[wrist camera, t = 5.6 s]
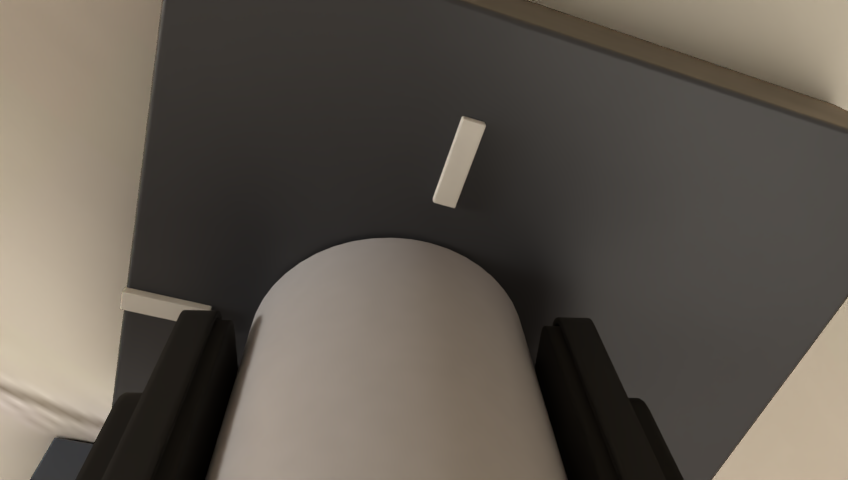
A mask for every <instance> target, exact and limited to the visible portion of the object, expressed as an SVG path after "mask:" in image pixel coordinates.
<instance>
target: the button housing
mask: <svg viewBox="0 0 848 480" xmlns="http://www.w3.org/2000/svg"><path fill="white" fill-rule="evenodd" d="M92 446H93V444H90V443H85V442H79V441H73V440H68V439H62V438H54V440H53V442H52V443H51V445H50V447H49V448H48V450H47V452H46V453H45V455H44V457H43V458H42V460H41V462H40V464H39V465H38V467H37V469H36V470H35V472H34V474H33V475H32V477H31V479H30V480H75V479H76V477H77V475H78V473H79V471H80V469H81V468H82V466H83V464H84V462H85V460H86V458H87V456H88V454H89V452H90V450H91V448H92Z"/></svg>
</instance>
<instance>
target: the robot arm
mask: <svg viewBox="0 0 848 480" xmlns="http://www.w3.org/2000/svg"><path fill="white" fill-rule="evenodd" d="M237 372H238V359H237V349H236V339H235V329H234V323H233V321H232V320H222V315H221V313H220V311H216V310H183V311H182V312H181V313H180V315H179V317H178V319H177V321H176V323H175V325H174V328H173V330H172V332H171V334H170V336H169V338H168V340H167V342H166V344H165V347H164V349H163V351H162V353H161V355H160V357H159V359H158V361H157V363H156V366H155V368H154V370H153V372H152V374H151V376H150V378H149V380H148V382H147V385H146V387H145V389H144V391H143V393H128V392H125V393H123V394H122V395H120V396H119V398H118V399H117V401H116V402H115V404H114V406H113V408H112V410H111V411H110V413H109V415H108V417H107V419H106V421H105V423H104V425H103V427H102V429H101V431H100V433H99V435H98V437H97V439H96V440H95V442H94V444H93V446H92V448H91V450H90V452H89V454H88V456H87V458H86V460H85V462H84V464H83V466H82V468H81V469H80V471H79V473H78V475H77V477H76V479H75V480H205V478H206V475H207V471H208V468H209V465H210V461H211V458H212V455H213V451H214V448H215V445H216V441H217V438H218V435H219V431H220V428H221V425H222V421H223V418H224V415H225V412H226V408H227V405H228V402H229V398H230V395H231V392H232V388H233V385H234V382H235V378H236V375H237ZM535 372H536V375H537V379H538V382H539V385H540V389H541V392H542V395H543V399H544V402H545V405H546V409H547V412H548V415H549V419H550V422H551V425H552V429H553V432H554V435H555V439H556V442H557V445H558V449H559V452H560V455H561V459H562V462H563V465H564V469H565V472H566V475H567V479H568V480H684V479H683V477H682V475H681V473H680V471H679V469H678V466H677V464H676V462H675V460H674V458H673V456H672V454H671V452H670V450H669V448H668V446H667V444H666V442H665V440H664V438H663V436H662V434H661V432H660V430H659V428H658V426H657V424H656V422H655V420H654V418H653V416H652V414H651V412H650V410H649V408H648V406H647V405H646V403H645V402H644V401H643V400H641V399H640V398H628V396H627V394H626V392H625V390H624V387H623V385H622V383H621V381H620V379H619V377H618V374H617V372H616V370H615V368H614V366H613V364H612V362H611V359H610V357H609V355H608V353H607V351H606V349H605V346H604V344H603V342H602V340H601V338H600V336H599V333H598V331H597V329H596V327H595V325H594V323H593V321H592V320H591V319H590V318H571V317H557V318H555V320H554V322H553V325H552V326H543V328H542V331H541V335H540V341H539V346H538V352H537V357H536V363H535Z"/></svg>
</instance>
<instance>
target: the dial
mask: <svg viewBox="0 0 848 480" xmlns="http://www.w3.org/2000/svg"><path fill="white" fill-rule="evenodd" d="M205 480H568V479H567V475H566V472H565V469H564V465H563V462H562V459H561V455H560V452H559V449H558V445H557V442H556V439H555V435H554V432H553V429H552V425H551V422H550V419H549V415H548V412H547V409H546V405H545V402H544V399H543V395H542V392H541V389H540V385H539V382H538V379H537V375H536V372H535V369H534V366H533V362H532V359H531V356H530V352H529V349H528V346H527V342H526V339H525V336H524V332H523V329H522V326H521V322H520V319H519V316H518V314H517V311H516V309H515V307H514V305H513V303H512V301H511V299H510V298H509V296H508V295H507V293H506V292H505V290H504V289H503V288H502V287H501V286H500V284H499V283H498V282H497V281H496V280H495V279H494V278H493V277H492V276H491V275H490V274H489V273H487V272H486V271H485V270H484V269H483V268H481V267H480V266H479V265H477V264H475V263H474V262H472V261H471V260H469V259H468V258H466V257H464V256H462V255H460V254H458V253H456V252H454V251H452V250H449V249H447V248H444V247H441V246H438V245H435V244H432V243H428V242H423V241H418V240H413V239H403V238H371V239H364V240H357V241H352V242H348V243H344V244H341V245H337V246H334V247H331V248H329V249H326V250H324V251H321V252H319V253H316V254H315V255H313V256H311V257H309V258H308V259H306V260H304V261H302V262H300V263H299V264H298V265H296V266H295V267H294V268H292V269H291V270H290V271H288V272H287V273H286V274H284V275H283V276H282V277H281V278H280V279H279V280H278V281H277V282H276V283H275V284H274V285H273V286H272V288H271V289H270V290H269V292H268V293H267V294H266V296H265V297H264V298H263V300H262V302H261V304H260V306H259V308H258V310H257V311H256V314H255V317H254V320H253V323H252V325H251V329H250V332H249V335H248V339H247V342H246V345H245V348H244V352H243V355H242V358H241V362H240V365H239V368H238V372H237V375H236V378H235V382H234V385H233V388H232V392H231V395H230V398H229V402H228V405H227V408H226V412H225V415H224V418H223V421H222V425H221V428H220V431H219V435H218V438H217V441H216V445H215V448H214V451H213V455H212V458H211V461H210V465H209V468H208V471H207V475H206V478H205Z"/></svg>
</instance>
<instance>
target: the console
mask: <svg viewBox="0 0 848 480" xmlns="http://www.w3.org/2000/svg"><path fill="white" fill-rule="evenodd" d="M371 238H403V239H413V240H418V241H423V242H428V243H432V244H435V245H438V246H441V247H444V248H447V249H449V250H452V251H454V252H456V253H458V254H460V255H462V256H464V257H466V258H468V259H469V260H471V261H472V262H474V263H475V264H477V265H479V266H480V267H481V268H483V269H484V270H485V271H486V272H487V273H489V274H490V275H491V276H492V277H493V278H494V279H495V280H496V281H497V282H498V283H499V284H500V286H501V287H502V288H503V289H504V290H505V292H506V293H507V295H508V296H509V298H510V299H511V301H512V303H513V305H514V307H515V309H516V311H517V314H518V316H519V319H520V322H521V326H522V329H523V332H524V336H525V339H526V342H527V346H528V349H529V352H530V356H531V359H532V362H533V366H534V369H535V363H536V357H537V352H538V346H539V341H540V335H541V331H542V328H543V326H552V325H553V322H554V320H555V318H557V317H571V318H590V319H591V320H592V321H593V323H594V325H595V327H596V329H597V331H598V333H599V336H600V338H601V340H602V342H603V344H604V346H605V349H606V351H607V353H608V355H609V357H610V359H611V362H612V364H613V366H614V368H615V370H616V372H617V374H618V377H619V379H620V381H621V383H622V385H623V387H624V390H625V392H626V394H627V396H628V398H640V399H641V400H643V401H644V402H645V403H646V405H647V406H648V408H649V410H650V412H651V414H652V416H653V418H654V420H655V422H656V424H657V426H658V428H659V430H660V432H661V434H662V436H663V438H664V440H665V442H666V444H667V446H668V448H669V450H670V452H671V454H672V456H673V458H674V460H675V462H676V464H677V466H678V469H679V471H680V473H681V475H682V477H683V479H684V480H712V479H713V477H714V476H715V475H716V473H717V472H718V471H719V469H720V468H721V467H722V465H723V464H724V463H725V461H726V460H727V459H728V457H729V456H730V454H731V453H732V452H733V450H734V449H735V448H736V446H737V445H738V444H739V442H740V441H741V440H742V438H743V437H744V436H745V434H746V433H747V432H748V430H749V429H750V428H751V426H752V425H753V424H754V422H755V421H756V420H757V418H758V417H759V416H760V414H761V413H762V412H763V410H764V409H765V407H766V406H767V405H768V403H769V402H770V401H771V399H772V398H773V397H774V395H775V394H776V393H777V391H778V390H779V389H780V387H781V386H782V385H783V383H784V382H785V381H786V379H787V378H788V377H789V375H790V374H791V373H792V371H793V370H794V369H795V367H796V366H797V365H798V363H799V362H800V361H801V359H802V358H803V356H804V355H805V354H806V352H807V351H808V350H809V348H810V347H811V346H812V344H813V343H814V342H815V340H816V339H817V338H818V336H819V335H820V334H821V332H822V331H823V330H824V328H825V327H826V326H827V324H828V323H829V322H830V320H831V319H832V318H833V316H834V315H835V314H836V312H837V311H838V309H839V308H840V307H841V305H842V304H843V303H844V301H845V300H846V299H847V297H848V111H846V110H844V109H842V108H840V107H838V106H836V105H833V104H830V103H827V102H824V101H821V100H818V99H815V98H813V97H810V96H807V95H804V94H801V93H798V92H795V91H792V90H789V89H786V88H783V87H780V86H777V85H774V84H771V83H768V82H765V81H762V80H760V79H757V78H754V77H751V76H748V75H745V74H742V73H739V72H736V71H733V70H730V69H727V68H724V67H721V66H718V65H715V64H712V63H709V62H707V61H704V60H701V59H698V58H695V57H692V56H689V55H686V54H683V53H680V52H677V51H674V50H671V49H668V48H665V47H662V46H659V45H656V44H654V43H651V42H648V41H645V40H642V39H639V38H636V37H633V36H630V35H627V34H624V33H621V32H618V31H615V30H612V29H609V28H606V27H604V26H601V25H598V24H595V23H592V22H589V21H586V20H583V19H580V18H577V17H574V16H571V15H568V14H565V13H562V12H559V11H556V10H553V9H551V8H548V7H545V6H542V5H539V4H536V3H533V2H530V1H527V0H162V6H161V14H160V22H159V30H158V38H157V46H156V55H155V63H154V71H153V79H152V87H151V95H150V103H149V111H148V119H147V127H146V135H145V144H144V152H143V160H142V168H141V176H140V184H139V192H138V200H137V208H136V216H135V225H134V233H133V241H132V249H131V257H130V265H129V273H128V281H127V287H125V288H124V290H123V291H122V297H121V305H120V309H122V310H124V314H123V322H122V330H121V338H120V346H119V354H118V362H117V370H116V378H115V386H114V395H113V403H112V408H113V406H114V404H115V402H116V401H117V399H118V398H119V396H120V395H122V394H123V393H125V392H128V393H143V391H144V389H145V387H146V385H147V382H148V380H149V378H150V376H151V374H152V372H153V370H154V368H155V366H156V363H157V361H158V359H159V357H160V355H161V353H162V351H163V349H164V347H165V344H166V342H167V340H168V338H169V336H170V334H171V332H172V330H173V328H174V325H175V323H176V321H177V319H178V317H179V315H180V313H181V312H182V311H183V310H216V311H220V313H221V315H222V320H232V321H233V323H234V329H235V339H236V349H237V359H238V368H239V365H240V362H241V358H242V355H243V352H244V348H245V345H246V342H247V339H248V335H249V332H250V329H251V325H252V323H253V320H254V317H255V314H256V311H257V310H258V308H259V306H260V304H261V302H262V300H263V298H264V297H265V296H266V294H267V293H268V292H269V290H270V289H271V288H272V286H273V285H274V284H275V283H276V282H277V281H278V280H279V279H280V278H281V277H282V276H283V275H284V274H286V273H287V272H288V271H290V270H291V269H292V268H294V267H295V266H296V265H298V264H299V263H300V262H302V261H304V260H306V259H308V258H309V257H311V256H313V255H315V254H316V253H319V252H321V251H324V250H326V249H329V248H331V247H334V246H337V245H341V244H344V243H348V242H352V241H357V240H364V239H371Z"/></svg>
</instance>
